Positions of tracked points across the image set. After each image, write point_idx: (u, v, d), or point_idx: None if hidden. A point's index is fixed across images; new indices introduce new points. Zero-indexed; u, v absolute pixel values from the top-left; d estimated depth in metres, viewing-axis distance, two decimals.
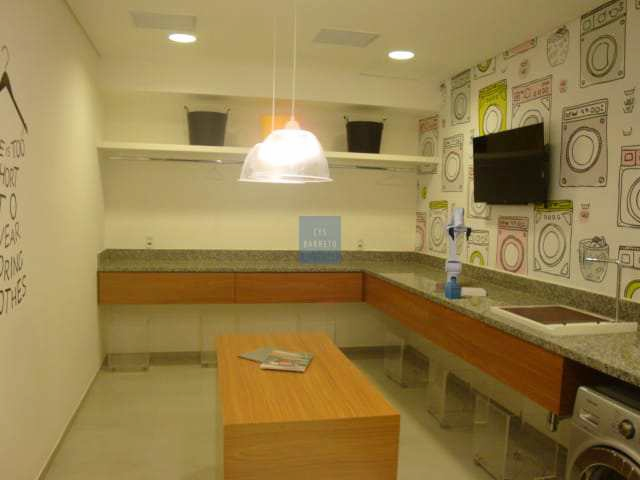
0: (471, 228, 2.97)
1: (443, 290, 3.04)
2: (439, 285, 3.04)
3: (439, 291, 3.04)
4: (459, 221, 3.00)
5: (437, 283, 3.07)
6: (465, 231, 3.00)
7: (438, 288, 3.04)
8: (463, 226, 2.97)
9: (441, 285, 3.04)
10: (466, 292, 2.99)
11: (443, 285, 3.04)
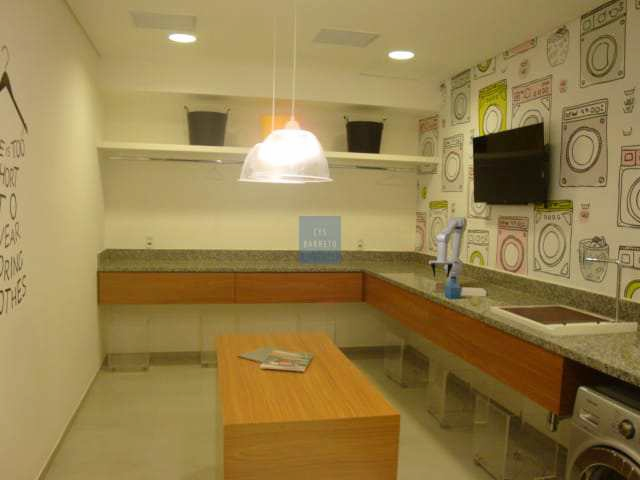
0: (453, 263, 3.03)
1: (443, 290, 3.04)
2: (439, 285, 3.04)
3: (439, 291, 3.04)
4: (442, 256, 3.02)
5: (437, 283, 3.07)
6: None
7: (438, 288, 3.04)
8: (445, 263, 3.03)
9: (441, 285, 3.04)
10: (466, 292, 2.99)
11: (443, 285, 3.04)
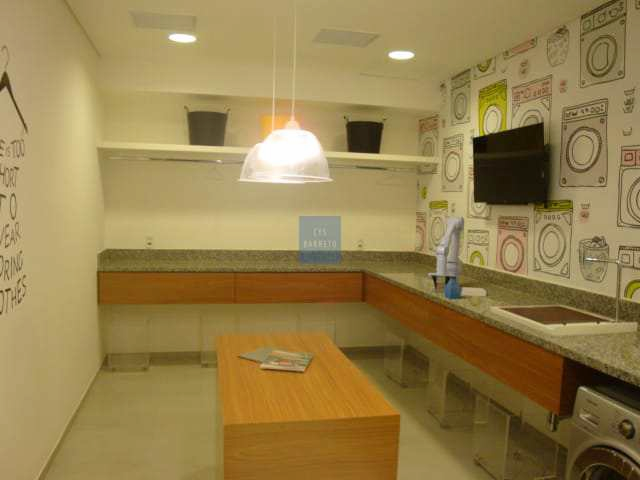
0: (452, 275, 3.04)
1: (443, 290, 3.04)
2: (439, 285, 3.04)
3: (439, 291, 3.04)
4: (441, 269, 3.03)
5: (437, 283, 3.07)
6: None
7: (438, 288, 3.04)
8: (444, 275, 3.03)
9: (441, 285, 3.04)
10: (466, 292, 2.99)
11: (443, 285, 3.04)
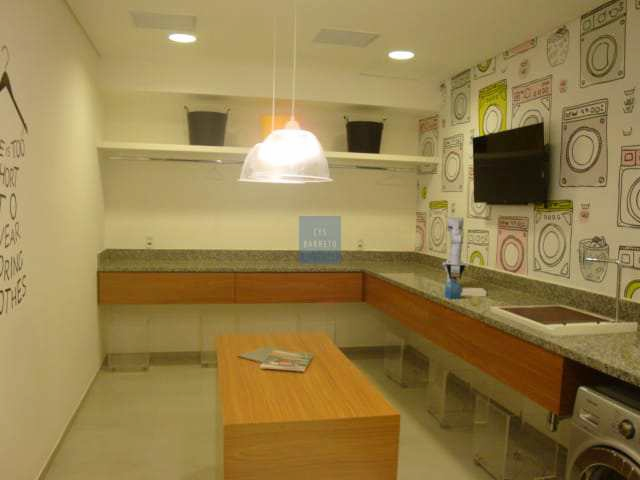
0: (467, 264, 3.02)
1: (457, 279, 3.02)
2: (453, 274, 3.02)
3: None
4: (456, 258, 3.01)
5: (451, 272, 3.05)
6: None
7: None
8: (459, 264, 3.02)
9: (455, 274, 3.02)
10: (466, 292, 2.99)
11: (457, 274, 3.02)
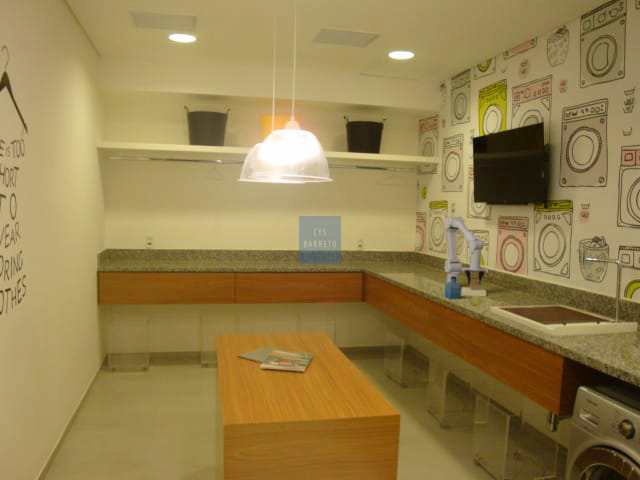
0: (486, 270, 3.01)
1: (477, 285, 3.01)
2: (473, 280, 3.01)
3: (473, 286, 3.01)
4: (475, 263, 3.00)
5: (471, 278, 3.04)
6: None
7: (472, 283, 3.01)
8: (478, 270, 3.00)
9: (475, 280, 3.01)
10: (466, 292, 2.99)
11: (477, 280, 3.01)
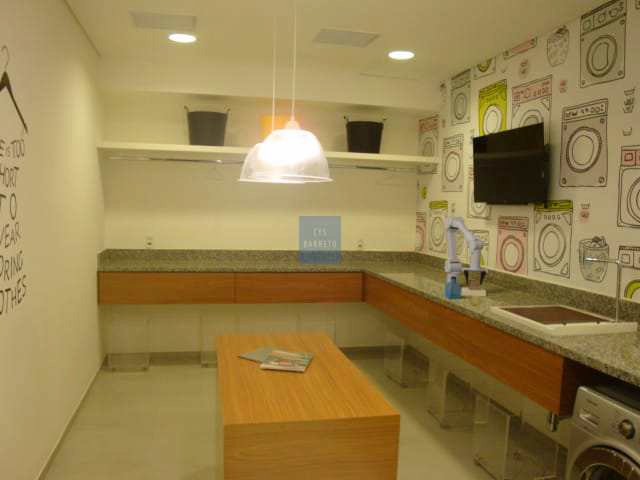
0: (486, 270, 3.01)
1: (477, 287, 3.01)
2: (473, 282, 3.01)
3: (473, 288, 3.01)
4: (475, 263, 3.00)
5: (471, 280, 3.04)
6: None
7: (472, 285, 3.01)
8: (478, 270, 3.00)
9: (475, 282, 3.01)
10: (466, 292, 2.99)
11: (477, 282, 3.01)
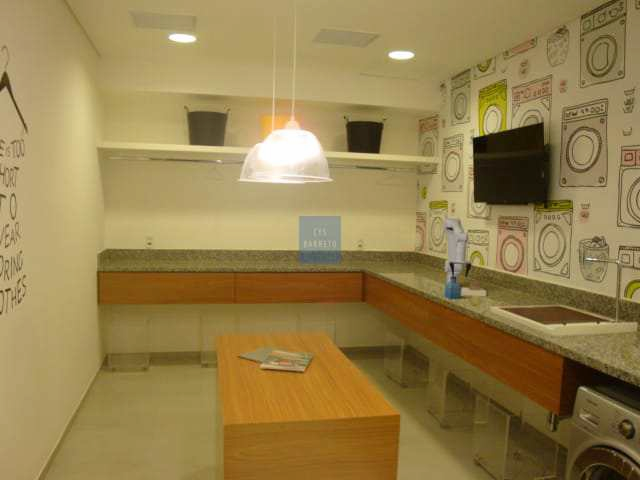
0: (471, 262, 3.05)
1: (477, 287, 3.01)
2: (473, 282, 3.01)
3: (473, 288, 3.01)
4: (461, 256, 3.03)
5: (470, 280, 3.04)
6: None
7: (472, 285, 3.01)
8: (464, 262, 3.04)
9: (475, 282, 3.01)
10: (466, 292, 2.99)
11: (477, 282, 3.01)
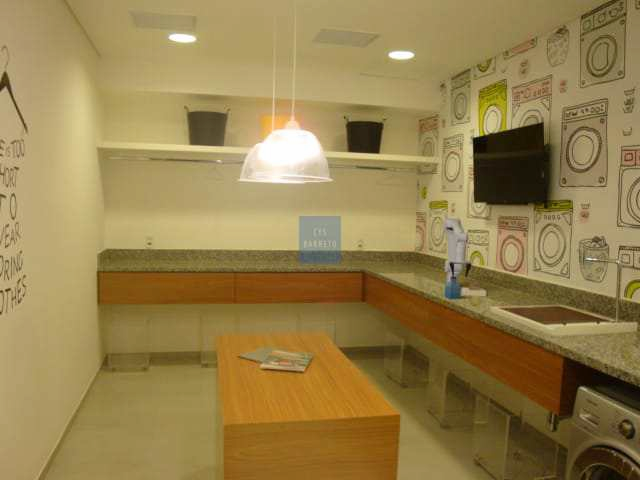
0: (471, 262, 3.05)
1: (476, 287, 3.01)
2: (472, 282, 3.01)
3: (472, 288, 3.01)
4: (461, 256, 3.03)
5: (470, 280, 3.04)
6: None
7: (471, 285, 3.01)
8: (464, 262, 3.04)
9: (474, 282, 3.01)
10: (466, 292, 2.99)
11: (476, 282, 3.01)
